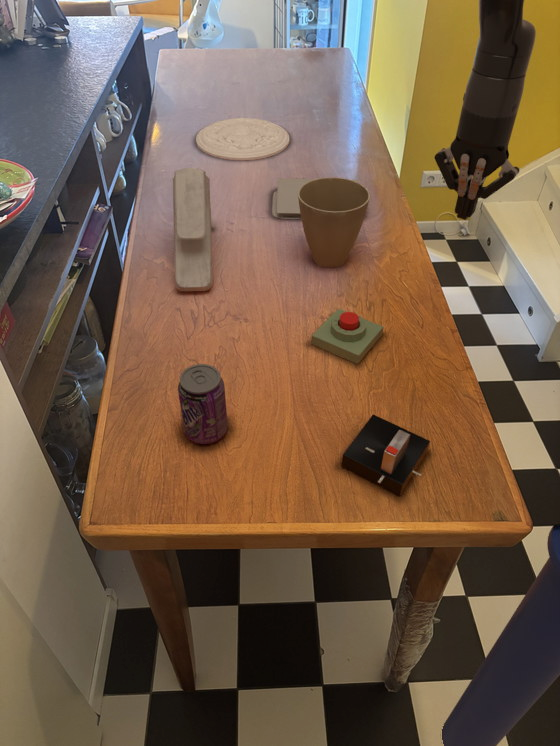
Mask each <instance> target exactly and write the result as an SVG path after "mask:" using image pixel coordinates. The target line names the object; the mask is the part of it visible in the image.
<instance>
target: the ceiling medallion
mask: <svg viewBox="0 0 560 746" xmlns="http://www.w3.org/2000/svg"><path fill="white" fill-rule="evenodd" d="M195 144H196V146H197V147H198V149H199V150H200V151H202V152H204V154H206V155H209V156H212V157H214V158H218V159H222V160H230V161H254V160H262V159H266V158H270V157H272V156H275V155H278V154H280V153H281V152H283V151H284V150H285V149H287V147H288V146H289V144H290V134H289V133H288V132H287V130H286V129H285V128H283V127H281V126H280V125H278V124H276V123H274V122H271V121H269V120H265V119H261V118H252V117H251V118H250V117H237V118H227V119H222V120H220V121H215V122H213V123H211V124H208V125H206V126H205V127H204V128H202V129H201V130H200V131H198V133H197V135H196V136H195Z"/></svg>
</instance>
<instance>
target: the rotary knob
mask: <svg viewBox="0 0 560 746" xmlns="http://www.w3.org/2000/svg"><path fill="white" fill-rule="evenodd" d="M409 438H410V434H408V433H406V432H404V431H402V430H399V431H398V432H397V434H396V435H395V436H394V438H393V439H392V441H391V442H390V444H389V445H388V446H387V448H386V449H385V451H384V455H383V460H382V465H381V469H380V470H381V471H383V472H385V473H387V474H389V475H392V473H393V472H394V470H395V469H396V467H397V466H398V464H399V463H400V461H401V460H402V458H403V457H404V455H405V454H406V450H407V446H408V442H409Z"/></svg>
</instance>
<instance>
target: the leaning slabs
mask: <svg viewBox="0 0 560 746" xmlns="http://www.w3.org/2000/svg"><path fill="white" fill-rule="evenodd" d="M172 203H173V204H172V205H173V206H172V207H173V209H172V210H173V211H172V212H173V248H174V250H173V251H174V284H175V287H176V289H178V291H181V292H205V291H209V290H210V289H211V288H212V287H213V254H212V253H213V251H212V249H213V248H212V208H211V180H210V177H209V176H207V174H206V170H204V169H200V168H194V167H187V168H181V169H178V170H175V171H174V175H173V178H172Z"/></svg>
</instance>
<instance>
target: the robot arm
mask: <svg viewBox="0 0 560 746" xmlns="http://www.w3.org/2000/svg"><path fill="white" fill-rule="evenodd" d="M524 3H525V0H478V25H479V36H478V37H479V38H478V41H477V45H476V49H475V53H474V58H473V64H472V68H471V71H470V75H469V77H468V80H467V83H466V87H465V92H464V94H463V97H462V104H461V105H462V106H461V110H460V115H459V120H458V123H457V125H458V126H457V128H456V133H455V138H454V140H452V142H451V143H450V146H448V147H447V148H445V147H444V148H442V149H440V150H439V151H438V152H436V154H435V155H434V157H433V158H434V161H435V163H436V165H437V168H438V169H439V171H440V174H441V175H442V178H443V180H444V182H445V184H446V186H447V188H448V190H451V191H452V190H453V191H455V192H456V193H457V199H456V201H455V202H456V203H455V206H454V214H456V218H457V219H460V220H464V221H467V220H468V219H469V218H471V217H472V216H473V215H474V214H475V212H476V208H477V205H478V200H479V199H483V200H485V199H488V198H489V197H490V196H493V194H496V193H497V192H498V191H499V190H500V189H502V188H504V187H505V186H506V185H508V184H509V183H511V182H512V181H513V180H514V179H515V178H516V177H517V176H518V174H519V173H520V167H518V166H514V165H512V163H511V162H510V160H509V157H510V153H509V144H510V140H511V136H512V134H513V129H514V126H515V122H516V119H517V115H518V111H519V109H520V104H521V101H522V97H523V93H524V88H525V80H526V76H527V75H526V74H527V72H528V68H529V64H530V61H531V57H532V54H533V49H534V47H535V42H536V36H537V35H536V34H537V31H536V27H535V25H533V23H531V22H530V21H529V20H526V19H524ZM453 160H454V161H453ZM454 162H455V163H454ZM455 164H456V165H455ZM456 167H457V168H456ZM500 168H501V169H500ZM457 169H458V170H457ZM498 169H500V171H499V172H498V177H497V178H496V179H495V180H493V181H492V182H491V183H489V184H488V185H487V186H484V184H485V182H486V179H487V178H488V177H489V176H491V175H492V174H493V173H494V172H495V171H497V170H498ZM458 171H459V173H458Z"/></svg>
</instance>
